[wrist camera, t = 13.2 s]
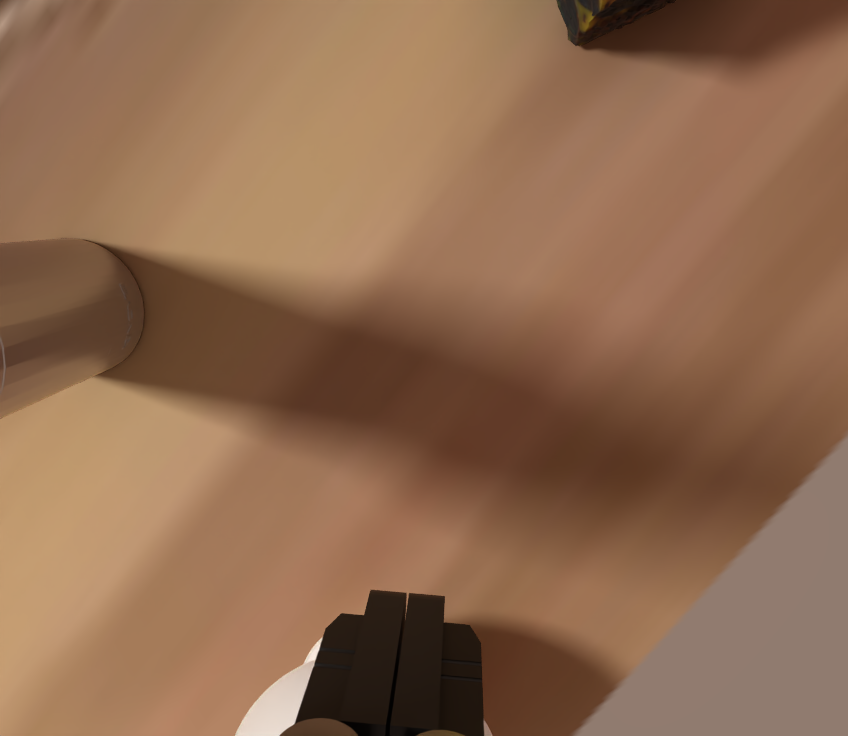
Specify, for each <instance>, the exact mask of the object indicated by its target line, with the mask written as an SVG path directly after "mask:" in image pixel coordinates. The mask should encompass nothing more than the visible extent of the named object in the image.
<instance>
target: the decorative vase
mask: <svg viewBox="0 0 848 736" xmlns="http://www.w3.org/2000/svg"><path fill="white" fill-rule="evenodd" d="M322 638H323V637H322ZM322 638H321V639H320V640H319V641H318V642H317V643H316V644H315V645H314V647H313V648H312V649H311V651H310V652H309V654H308V656H307V658H306V660H305V662H304V664H303V665H301V666H299V667H298V668H296V669H294V670H292V671H290V672H289V673H287V674H286V675H284V676H283V677H281V678H280V679H279V680H277V681H276V682H275V683H274V684H272V685H271V686H270V687H269V688H268V689H267V690H266V691H265V692H264V693H263V694H262V695H261V696H260V697H259V698H258V699H257V700H256V702H255V703H254V704H253V706H252V707H251V708H250V710H249V711H248V713H247V714H246V716H245V717H244V719H243V721H242V722H241V724H240V726H239V728H238V730H237V732H236V734H235V736H280V734H281V733H283V732H284V731H285V730H286V729H287V728H289V727H290V726H292V725H294V724H295V721H296V717H297V714H298V711H299V708H300V705H301V702H302V699H303V696H304V693H305V690H306V687H307V684H308V681H309V678H310V675H311V672H312V669H313V667H314V663H315V660H316V657H317V654H318V651H319V649H320V645H321V641H322ZM484 736H493V735H492V733H491V731H490V729H489V727H488V725H487V724H486V722H485V720H484Z"/></svg>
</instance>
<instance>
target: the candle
mask: <svg viewBox="0 0 848 736" xmlns="http://www.w3.org/2000/svg"><path fill="white" fill-rule="evenodd" d="M666 2H667V3H674V2H675V0H557V4H558V7H559V10H560V12H561V15H562V17H563V19H564V22H565V24H566V26H567V29H568V40H570V41H571V42H572V43H573V44H574V45H575V46H580V45H583V44H586V43H588V42H590V41H592V40H593V39H595V38H597V37H599V36H601V35H604V34H606V33H608V32H610V31H612V30H614V29H618V28H622V26H623V25H627V24H630V23H632V22H634V21H636V20H638V19H639V18H641V17H642V16H644V15H646V14H650V13H653V12H654V11H656V10H658V9H661V8H663V7H664V6H665V4H666Z"/></svg>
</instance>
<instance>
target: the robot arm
mask: <svg viewBox="0 0 848 736" xmlns="http://www.w3.org/2000/svg"><path fill="white" fill-rule="evenodd" d="M143 323H144V307H143V300H142V296H141V293H140V290H139V287H138V285H137V283H136V281H135V279H134V277H133V276H132V274H131V272H130V271H129V270H128V268H127V267H126V266H125V265H124V264H123V263H122V261H121V260H120V259H119V258H117V257H116V256H115V255H113V254H112V253H111V252H110V251H108V250H107V249H105V248H103V247H101V246H99V245H97V244H95V243H92V242H89V241H85V240H82V239H71V238H62V239H50V240H37V241H22V242H10V243H0V419H1V418H3V417H5V416H8V415H10V414H12V413H14V412H16V411H18V410H21V409H23V408H25V407H27V406H29V405H32V404H34V403H36V402H38V401H40V400H42V399H45V398H47V397H49V396H51V395H53V394H56V393H58V392H60V391H62V390H64V389H66V388H69V387H71V386H73V385H75V384H78V383H80V382H82V381H84V380H87V379H89V378H91V377H93V376H95V375H97V374H100V373H102V372H104V371H106V370H108V369H111V368H113V367H114V366H116V365H117V364H119V363H120V362H122V361H124V360H125V359H126V358H127V356H128V355H129V354H130V353H131V352H132V351H133V350H134V348H135V346H136V344H137V343H138V341H139V339H140V336H141V332H142V329H143ZM444 603H445V596H437V595H426V594H414V593H409V598H408V605H407V612H406V593H402V592H391V591H380V590H371V591H370V594H369V598H368V602H367V606H366V610H365V614H364V615H354V614H343V613H341V614H340V615H339V616H338V617H337V618H336V619H335V620H334V621H333V622H332V623H331V624H330V625H329V626H328V627H327V628H326V629H325V632H324V635H323V638H322V641H321V645H320V649H319V651H318V654H317V657H316V660H315V663H314V667H313V669H312V672H311V675H310V678H309V681H308V684H307V687H306V690H305V693H304V696H303V699H302V702H301V705H300V708H299V711H298V714H297V717H296V721H295V724H294V725H292V726H290V727H289V728H287V729H286V730H285V731H284V732H283V733H281V734H280V736H484V716H483V688H482V666H481V663H482V661H481V642H480V641H479V639H478V638H477V636H476V634H475V633H474V631H473V630H472V628H471V626H470V625H465V624H454V623H444ZM405 614H406V619H405Z"/></svg>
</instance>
